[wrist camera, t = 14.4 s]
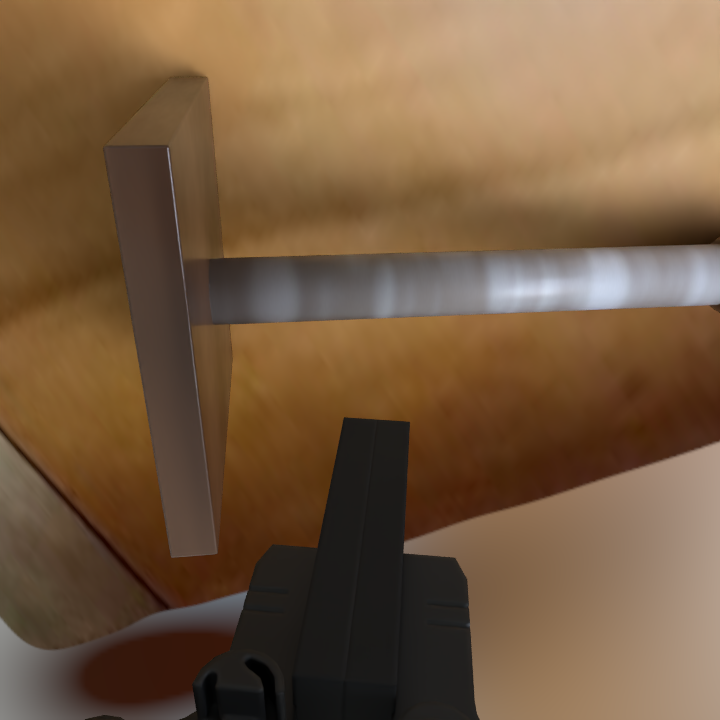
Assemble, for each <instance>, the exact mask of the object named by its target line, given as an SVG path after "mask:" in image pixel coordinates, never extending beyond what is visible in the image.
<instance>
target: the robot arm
mask: <svg viewBox="0 0 720 720" xmlns="http://www.w3.org/2000/svg"><path fill="white" fill-rule="evenodd" d="M409 428H410V422H404V421H389V420H374V419H359V418H345V417H344V420H343V425H342V430H341V435H340V440H339V445H338V450H337V455H336V460H335V465H334V469H333V474H332V479H331V484H330V489H329V494H328V499H327V504H326V509H325V514H324V519H323V524H322V529H321V534H320V539H319V543H318V548H310V547H298V546H286V545H274V544H273V545H272V546H271V547H270V548H269V549H268V550H267V552H266V553H265V554H264V555H263V556H262V557H261V559H260V560H259V561H258V562H257V563H256V566H255V569H254V572H253V576H252V579H251V582H250V585H249V591H248V592H247V595H246V599H245V602H244V607H243V610H242V612H241V615H240V618H239V622H238V625H237V628H236V632H235V635H234V638H233V641H232V645H231V648H230V651H228V652H225V653H223V654H221V655H218V656H216V657H214V658H213V659H212V660H211V661H210V662H208V663H207V664H206V665H205V666H204V667H203V668H202V669H201V670H200V672H199V673H198V675H197V677H196V679H195V680H194V682H193V684H192V686H193V692H194V698H195V704H196V710H197V711H196V712H194V713H192V714H190V715H189V716H187V717H185V718H183V719H180V720H479V718H478V715H477V712H476V706H475V701H474V685H473V668H472V652H471V635H470V619H469V608H468V606H469V601H468V585H467V579H466V577H465V575H464V573H463V571H462V570H461V568H460V566H459V564H458V562H457V561H456V559H455V558H450V557H440V556H439V557H438V556H428V555H415V554H403V549H404V529H405V509H406V489H407V469H408V449H409ZM85 720H124V719H122V718H121V717H114V716H107V715H102V716H98V717H93V718H89V719H85Z"/></svg>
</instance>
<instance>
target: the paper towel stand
mask: <svg viewBox="0 0 720 720" xmlns="http://www.w3.org/2000/svg"><path fill="white" fill-rule="evenodd" d="M103 151H104V157H105V163H106V169H107V175H108V181H109V187H110V193H111V199H112V205H113V211H114V217H115V223H116V229H117V235H118V241H119V247H120V253H121V259H122V265H123V271H124V277H125V283H126V289H127V295H128V301H129V307H130V313H131V319H132V325H133V331H134V337H135V343H136V349H137V355H138V361H139V367H140V373H141V379H142V385H143V391H144V397H145V403H146V409H147V415H148V421H149V427H150V433H151V439H152V445H153V451H154V457H155V463H156V469H157V475H158V481H159V487H160V493H161V499H162V505H163V511H164V517H165V523H166V529H167V535H168V542H169V548H170V554H171V557H184V556H197V555H209V554H217V552H218V542H219V530H220V517H221V504H222V491H223V478H224V465H225V452H226V439H227V426H228V413H229V400H230V387H231V374H232V362H233V358H232V347H231V335H230V324H249V323H274V322H299V321H324V320H349V319H374V318H399V317H424V316H449V315H474V314H500V313H525V312H550V311H575V310H600V309H625V308H650V307H675V306H700V305H709V306H711V307H712V308H713V309H714V310H716V311H718V312H719V313H720V237H719V238H717V239H716V240H715V241H714V242H712V243H711V244H705V245H669V246H634V247H599V248H563V249H528V250H493V251H457V252H422V253H387V254H351V255H316V256H281V257H245V258H224V255H223V243H222V232H221V220H220V209H219V197H218V186H217V174H216V163H215V151H214V140H213V128H212V117H211V105H210V94H209V82H208V78H207V77H170V78H169V79H168V80H167V81H166V82H165V83H164V84H163V85H162V86H161V87H160V88H159V89H158V91H157V92H156V93H155V94H154V95H153V96H152V97H151V98H150V99H149V100H148V101H147V102H146V103H145V104H144V105H143V106H142V107H141V108H140V109H139V110H138V111H137V112H136V113H135V114H134V115H133V116H132V118H131V119H130V120H129V121H128V122H127V123H126V124H125V125H124V126H123V127H122V128H121V129H120V130H119V131H118V132H117V133H116V134H115V135H114V136H113V137H112V138H111V139H110V140H109V141H108V142H107V143H106V145H105V146H104V147H103Z"/></svg>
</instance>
